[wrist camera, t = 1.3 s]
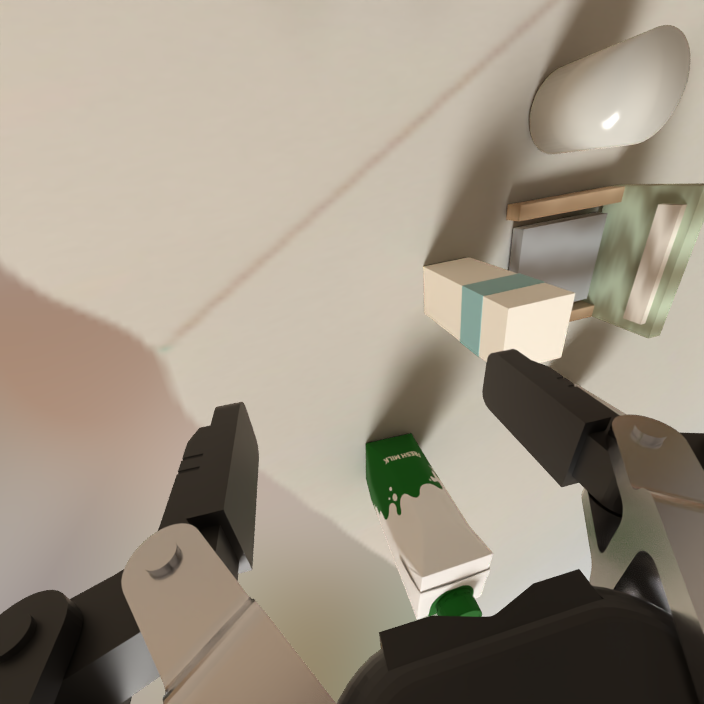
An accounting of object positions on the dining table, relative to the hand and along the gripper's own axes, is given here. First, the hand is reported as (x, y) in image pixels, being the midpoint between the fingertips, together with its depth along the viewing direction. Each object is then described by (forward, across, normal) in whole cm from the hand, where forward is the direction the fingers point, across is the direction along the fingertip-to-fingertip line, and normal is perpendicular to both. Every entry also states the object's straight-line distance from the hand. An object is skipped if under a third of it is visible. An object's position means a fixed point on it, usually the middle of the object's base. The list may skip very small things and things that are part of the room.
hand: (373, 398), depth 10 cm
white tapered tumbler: (+25, -26, -10) cm, 38 cm away
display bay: (+25, -29, +5) cm, 38 cm away
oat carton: (+24, -15, +6) cm, 29 cm away
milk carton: (+24, -7, +30) cm, 39 cm away
